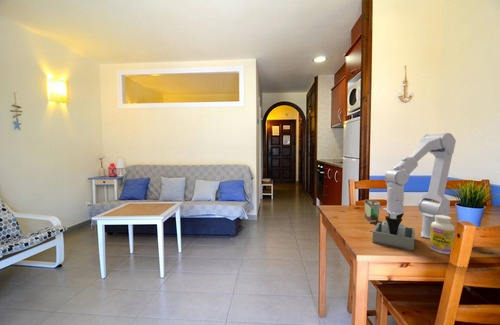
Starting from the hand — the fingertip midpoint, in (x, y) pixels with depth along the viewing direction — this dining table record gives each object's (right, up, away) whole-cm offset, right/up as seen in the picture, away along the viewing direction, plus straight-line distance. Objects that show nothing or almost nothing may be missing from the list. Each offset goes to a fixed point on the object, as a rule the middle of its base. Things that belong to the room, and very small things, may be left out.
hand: (394, 232), depth 95 cm
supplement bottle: (+11, -4, -9) cm, 16 cm away
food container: (+6, -3, +27) cm, 28 cm away
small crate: (0, -3, 0) cm, 3 cm away
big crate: (0, -4, 0) cm, 4 cm away
